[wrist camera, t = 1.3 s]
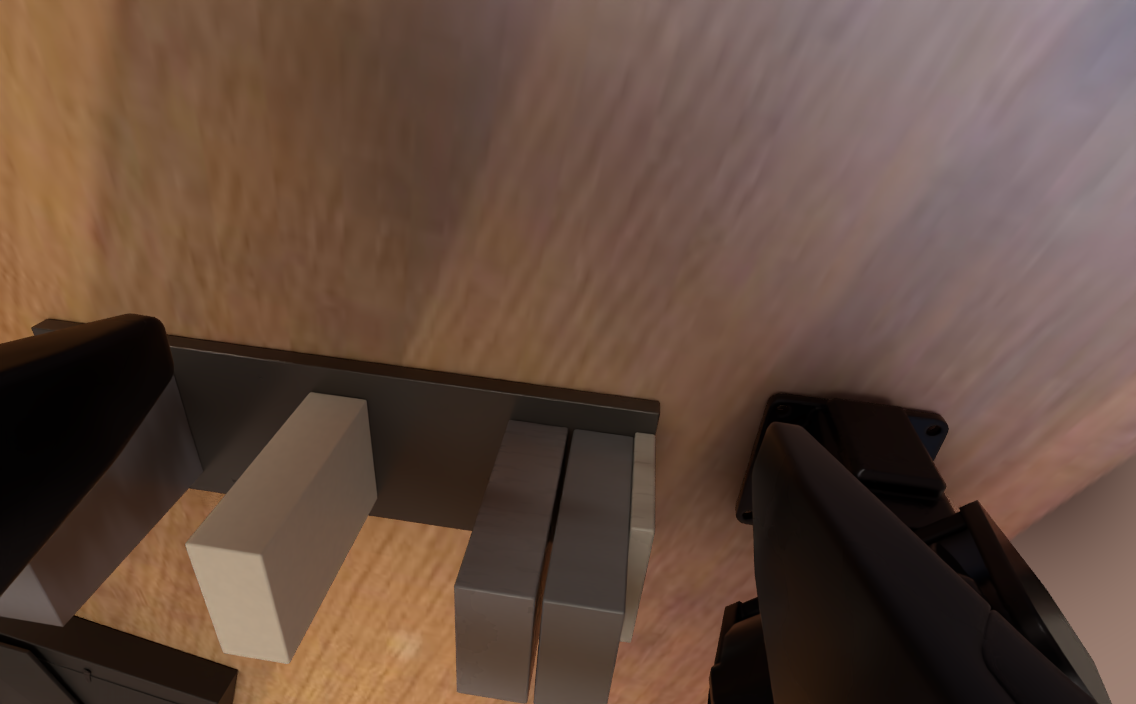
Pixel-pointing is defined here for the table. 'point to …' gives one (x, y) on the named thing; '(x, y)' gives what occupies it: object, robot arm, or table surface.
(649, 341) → the table surface
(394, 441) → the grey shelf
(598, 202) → the table surface
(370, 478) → the beige rectangular block
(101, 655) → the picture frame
